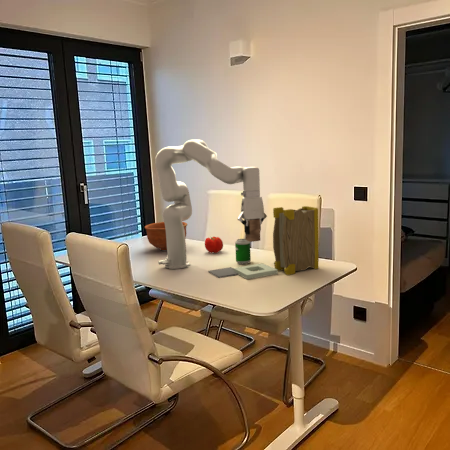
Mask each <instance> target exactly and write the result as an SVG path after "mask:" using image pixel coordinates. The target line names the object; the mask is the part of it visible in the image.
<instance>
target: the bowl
mask: <svg viewBox="0 0 450 450" xmlns="http://www.w3.org/2000/svg"><path fill="white" fill-rule="evenodd" d="M182 224H183V226H184V230H185V240H186V238H187V226H188V223H187V222H185V221H182ZM144 229H145V230H146V237H147V238H146V239H147V241H148V243H149V244H150V245H152V246H153V247H154V248H157V249H159V250H160V249H161V250H167V241H166V229H165V223H164V221H160V222H153V223H150V224H145V226H144ZM161 250H160V251H161Z"/></svg>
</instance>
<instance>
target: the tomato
mask: <svg viewBox="0 0 450 450" xmlns="http://www.w3.org/2000/svg"><path fill="white" fill-rule="evenodd" d="M204 247H205V249H206V251H207V252H209V253H210V254H217V253H219V252H220V251H222V250H223V248H224V242H223V240H222V238H221V237H219V236H212V237H211V236H210V237H207V238H205V240H204Z"/></svg>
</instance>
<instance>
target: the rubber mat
mask: <svg viewBox="0 0 450 450" xmlns="http://www.w3.org/2000/svg"><path fill="white" fill-rule="evenodd" d="M233 268H234V267H231V266H230V267H229V266H228V267H223V268H216V269H211V270H208V271H207V272H208V273H209V274H211V275H213V276H215V277H216V278H217V279H221V278H227V277H231V276H233V277H234V276H237V275H238V273H236V272H235V271H233ZM238 276H239V275H238Z"/></svg>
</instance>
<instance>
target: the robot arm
mask: <svg viewBox="0 0 450 450" xmlns="http://www.w3.org/2000/svg"><path fill="white" fill-rule="evenodd" d="M190 161H194V162H196V163H197V164H199V165H200V166H203V168H205V169H206V170H207V171H208V172H209V173H210V174H211V175H212V176H213V177H214V178H216V179H217V180H219V181H220V182H223V183H225V184H226V185H235V184H240V183H242V192H240V195H241V196H242V198H241V205H240V213H239V215H238V217H237V221H239V222H240V223H241V224H242V225H243V227H244V233H245V235H246V234H248V235H249V234H250V233H249V226H248V224H249V220H253V219H260V232H262V231H261V230H262V226H261V225H262V224H263V221H264V220H265V219H266V218H267V217H268V216H267V214H266V213H265V208H264V206H265V205H264V201H263V196H261V187H260V186H261V180H260V168H259V167H257V166H247V167H246V166H231V167H230V166H228V165H226V164H224V163H223V162H221V161H220V160H219V159H218V154H217V152H216V151H214V150H212V149H210V148H209V147H208V144H207V143H206V141H204V140H202V139H189V140H186V141H185V142H184V144H182V145H178V146H177V145H176V146H175V145H173V146H166V147H163V148H161V149H160V150H159V151H158V152H157V154H156V156H155V160H154V163H155V169H156V172H157V176H158V183H159V188H160V192H161V197H162V199H163V200H164V201H165V202H167V203H171V202H174V203H173V204H169V205H168V206H166V207H165V208H164V209H163V211H162V219H163V222H164V223H165V229H166V241H167V251H166V253H167V254H166V255H167V256H166V257H165V258H164V259H163V260H158V265H164V267H165V268H166V269H168V268H169V270H180V269H186V268H189V267H190V266H191V263H190V261H187V247H186V246H187V245H186V239H185V230H184V226H183V224H182V222H185V221H187V220H189V219H190V218H191V216H192V214H193V209H192V208H193V207H192V201H191V197H190V191H189V188H188V186H187V185H186V184H185V182H183V181H178V180H177V176H176V175H177V174H176V172H175V170H174V168H173V167H172V165H174V164H176V165H177V164H178V165H179V164H184V163H188V162H190Z"/></svg>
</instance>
